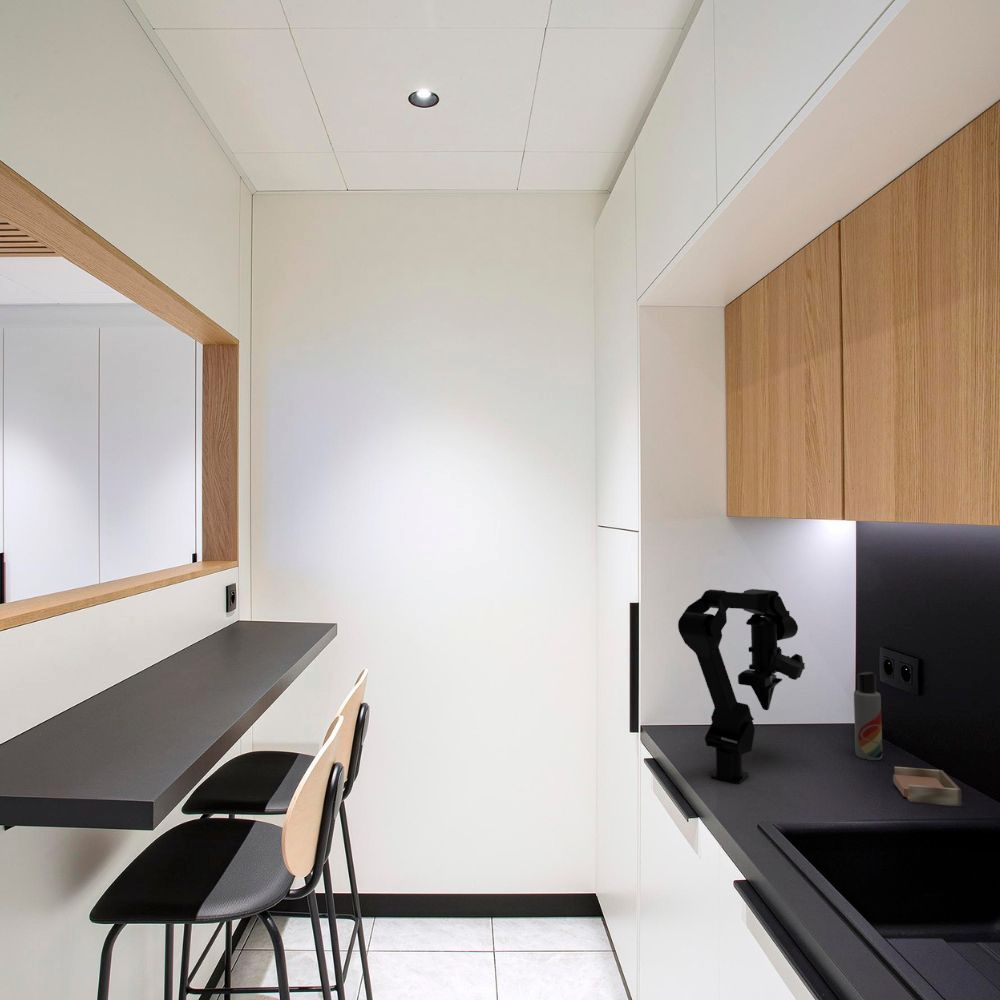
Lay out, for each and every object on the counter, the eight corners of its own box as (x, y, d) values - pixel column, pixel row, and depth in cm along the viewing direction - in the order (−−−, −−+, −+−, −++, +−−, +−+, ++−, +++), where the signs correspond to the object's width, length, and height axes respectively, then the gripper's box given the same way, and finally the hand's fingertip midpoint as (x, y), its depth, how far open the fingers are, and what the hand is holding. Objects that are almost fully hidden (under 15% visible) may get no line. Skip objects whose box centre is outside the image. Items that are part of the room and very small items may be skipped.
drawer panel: (903, 788, 140) (948, 792, 138) (893, 774, 148) (935, 777, 146) (903, 796, 140) (948, 800, 138) (893, 782, 148) (936, 785, 146)
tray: (910, 802, 138) (909, 785, 138) (894, 781, 149) (894, 766, 149) (961, 806, 136) (961, 790, 136) (942, 785, 147) (941, 770, 147)
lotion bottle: (882, 762, 161) (879, 675, 161) (854, 758, 164) (852, 673, 164) (883, 755, 166) (880, 670, 166) (856, 751, 169) (854, 668, 169)
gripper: (786, 653, 151) (788, 725, 151) (812, 640, 165) (813, 706, 165) (736, 647, 158) (737, 716, 158) (764, 636, 172) (766, 699, 172)
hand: (765, 709), depth 163 cm, fingers closed
